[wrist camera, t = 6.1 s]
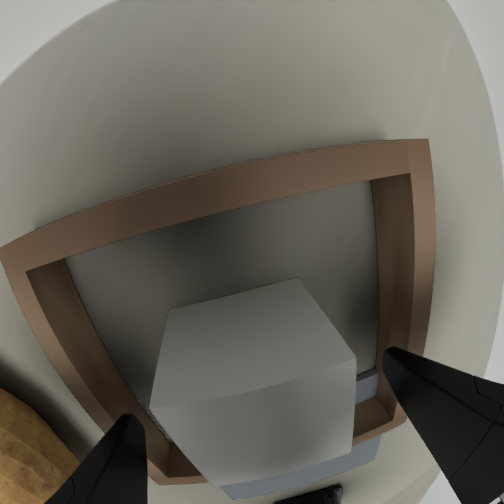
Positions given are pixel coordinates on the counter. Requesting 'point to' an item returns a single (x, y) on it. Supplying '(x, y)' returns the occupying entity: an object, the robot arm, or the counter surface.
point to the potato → (30, 455)
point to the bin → (215, 201)
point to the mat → (355, 458)
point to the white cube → (255, 384)
